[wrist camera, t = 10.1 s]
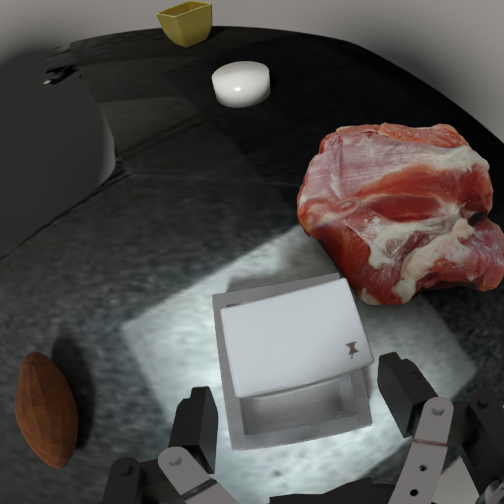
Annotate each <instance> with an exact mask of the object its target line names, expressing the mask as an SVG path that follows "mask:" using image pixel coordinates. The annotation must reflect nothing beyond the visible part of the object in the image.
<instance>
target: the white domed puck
mask: <svg viewBox="0 0 504 504" xmlns="http://www.w3.org/2000/svg"><path fill="white" fill-rule="evenodd" d="M212 80H213V85H214V89H215V94H216V98H217V100H218V102H219V103H221V104H222V105H225V106H228V107H235V108H240V107H248V106H253V105H256V104H258V103H261V102H262V101H264V100H265V99H266V98H268V96H269V95H270V79H269V70H268V68H267V67H266V66H265V65H263V64H261V63H257V62H251V61H242V62H235V63H231V64H228V65H225V66H223V67H221V68H219V69H218V70H217V71H215V73H214V74H213V76H212Z"/></svg>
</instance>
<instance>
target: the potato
mask: <svg viewBox="0 0 504 504" xmlns="http://www.w3.org/2000/svg"><path fill="white" fill-rule="evenodd" d="M15 414H16V418H17V422H18V424H19V427H20V429H21V431H22V433H23V435H24V437H25V439H26V441H27V443H28V444H29V446H30V447H31V449H32V450H33V451H34V452H35V453H36V454H37V456H39V457H40V458H41V459H42V460H43V461H44V462H45V463H46V464H48V465H49V466H51V467H53V468H55V469H59V468H62V467H64V466H66V465H67V464H68V462H69V460H70V459H71V457H72V455H73V453H74V449H75V444H76V439H77V433H78V424H79V416H78V411H77V406H76V403H75V399H74V396H73V394H72V391H71V388H70V386H69V384H68V382H67V380H66V379H65V377H64V375H63V373H62V372H61V371H60V370H59V369H58V367H57V366H56V365H55V364H54V363H53V362H52V361H51V360H50V359H49V358H48V357H46V356H45V355H43V354H42V353H39V352H32V353H30V354H28V355H27V356H26V357H25V359H24V361H23V362H22V364H21V366H20V371H19V382H18V389H17V394H16V398H15Z"/></svg>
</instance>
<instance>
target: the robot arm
mask: <svg viewBox="0 0 504 504" xmlns="http://www.w3.org/2000/svg"><path fill="white" fill-rule="evenodd" d="M377 382H378V388H379V390H380V393H381V394H382V396H383V398H384V400H385V402H386V404H387V406H388V408H389V410H390V412H391V414H392V416H393V418H394V420H395V422H396V424H397V426H398V428H399V430H400V432H401V434H402V436H403V438H406V437H409V436H412V438H413V443H412V446H411V449H410V452H409V454H408V457H407V460H406V462H405V465H404V468H403V470H402V473H401V475H400V478H399V480H398V482H397V485H394V484H391V483H385V482H372V479H371V477H368V478H364V479H360V480H357V481H353V482H349V483H346V484H344V485H342V486H340V487H337V488H335V489H333V490H331V491H329V492H326V493H324V494H290V495H283V496H275V497H269V498H270V503H268V504H436V503H434V502H432V498H433V496H434V493H435V490H436V487H437V484H438V481H439V477H440V474H441V470H442V467H443V463H444V459H445V456H446V452H447V447H452V446H456V448H457V450H458V452H459V454H460V456H461V458H462V459H463V462H464V464H465V466H466V468H467V470H468V472H469V474H470V476H471V478H472V480H473V482H474V485H475V487H476V489H477V491H478V493H479V498H478V499H477V501H476V503H475V504H504V408H503V407H502V406H501V404H500V403H499V402H498V400H497V399H496V397H495V396H494V395H493V394H492V393H490V392H487V391H478V392H476V393H474V394H473V395H472V396H471V398H470V400H469V401H467V402H460V403H451V401H450V400H448V399H446V398H444V397H438V395H437V394H436V392H435V391H434V390H433V388H432V387H431V385H430V384H429V383H428V381H427V380H426V378H425V377H424V376H423V374H422V373H421V372H420V370H419V369H418V367H417V366H416V365H415V363H413V362H411V361H410V360H408V359H404V360H401V359H400V357H399V356H398V354H397V353H396V352H391V353H388V354H384V355H381V356H380V357H379V366H378V378H377ZM175 415H176V416H175V419H174V423H173V428H172V432H171V437H170V441H169V446H168V449H166V450H164V451H163V452H162V453H161V454H160V455H159V457H158V458H157V459H154V460H150V461H146V462H141V463H139V462H138V461H137V460H135V459H134V458H131V457H124V458H120V459H118V460H117V461H115V462H114V463H113V465H112V467H111V470H110V473H109V477H108V481H107V485H106V489H105V493H104V497H103V501H102V504H164V502H165V501H169V500H174V499H178V498H183V499H184V501H185V502H186V503H187V504H239V503H238V502H237V501H236V500H235V499H234V498H233V497H232V496H231V495H230V494H229V493H228V492H227V491H226V490H225V489H224V488H223V487H222V486H221V485H220V484H219V483H218V482H217V481H216V480H215V479H214V480H213V479H212V478H211V477H210V476H209V475H208V474H214V472H215V458H216V444H217V431H218V411H217V407H216V404H215V402H214V399H213V396H212V393H211V390H210V388H209V386H205V387H194V388H192V391H191V396H190V398H187V399H183V400H182V401H181V402H180V404H179V405H178V406H177V410H176V414H175Z"/></svg>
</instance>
